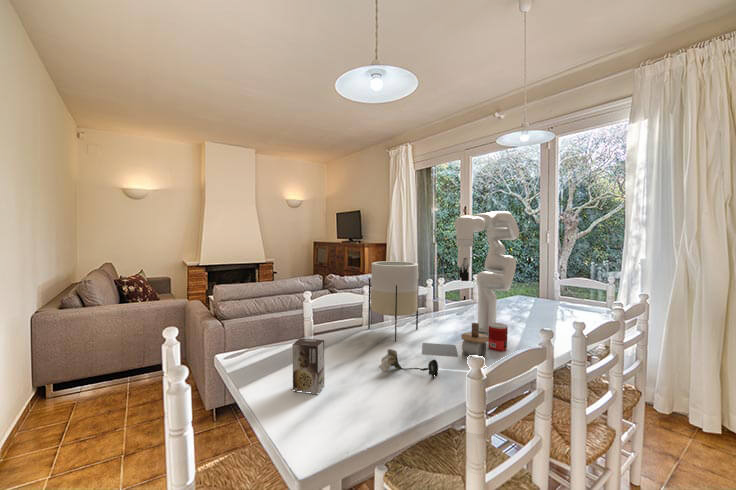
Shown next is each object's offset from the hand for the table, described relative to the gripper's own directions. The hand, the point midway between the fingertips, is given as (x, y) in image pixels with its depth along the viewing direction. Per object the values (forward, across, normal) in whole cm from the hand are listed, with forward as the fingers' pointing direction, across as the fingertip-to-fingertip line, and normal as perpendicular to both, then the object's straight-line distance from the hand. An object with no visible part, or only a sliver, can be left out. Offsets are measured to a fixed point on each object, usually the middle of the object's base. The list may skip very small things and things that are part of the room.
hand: (463, 279), depth 161 cm
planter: (+31, -7, -35) cm, 47 cm away
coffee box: (+31, +59, -55) cm, 86 cm away
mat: (+30, +13, -11) cm, 35 cm away
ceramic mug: (+31, +18, +3) cm, 36 cm away
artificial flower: (+31, +39, -24) cm, 55 cm away
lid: (+23, +17, +4) cm, 28 cm away
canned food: (+31, +5, +15) cm, 34 cm away
